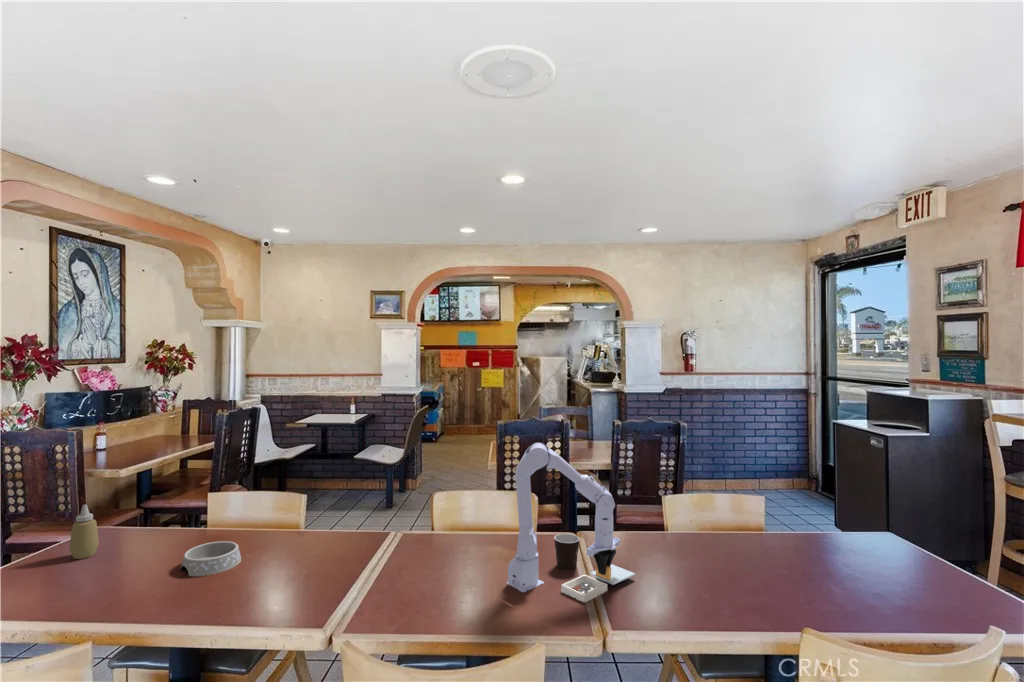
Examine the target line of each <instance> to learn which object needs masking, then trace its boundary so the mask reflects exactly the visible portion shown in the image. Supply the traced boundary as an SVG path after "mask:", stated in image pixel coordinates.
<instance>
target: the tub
mask: <svg viewBox="0 0 1024 682" xmlns="http://www.w3.org/2000/svg"><path fill="white" fill-rule="evenodd" d="M581 582H589V583H591V589H589V590H587V591H588V592H587V593H585V594H583V593H581V592H579V591H576V590H574V589H572V588H574V587H576V586H578V585H581ZM560 587H561V590H560V592H561V593H562V594H564V595H567V596H568V595H569V596H568V597H570V596H571V597H570V598H572V597H573V599H574V598H576V599H575V600H577V601H579V600H580V601H579V602H581V601H582V602H581V603H583V602H585V603H587V602H589V601H591V600H593V599H596V598H597V597H599V596H601V595H603V594H605V593H607V592H608V583H607V582H605V581H602V580H600V579H598V578H595V577H592V576H590V575H588V574H583V575H580V576H578V577H575V578H573V579H571V580H568V581H566V582H564V583H562V584H561V586H560ZM595 587H597V588H595ZM606 591H607V592H606ZM604 592H605V593H604ZM600 594H601V595H600ZM598 595H599V596H598Z"/></svg>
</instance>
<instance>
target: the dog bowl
mask: <svg viewBox="0 0 1024 682" xmlns="http://www.w3.org/2000/svg"><path fill="white" fill-rule="evenodd" d="M241 559H242V555H241V552H240V547H239V544H238V543H236V542H234V541H227V540H225V541H224V540H223V541H222V540H221V541H212V542H207V543H203V544H200V545H196V546H194V547H192V548H190V549H188V550H187V551H186V552H185V553H184V555H183V559H182V562H181V566H180V569H179V570H180V571H181V570H182V568H183V567H184V568H186V570H187V572H188V577H205V575H207V576H212V575H211V574H213V575H217V574H216V573H218V574H221V573H220V572H222V573H224V572H223V571H225V572H227V571H226V570H228V571H230V570H232V569H234V568H236V567H237V566H236V565H238V564H239V563H240V562H241V563H242V561H241ZM241 563H240V564H241ZM240 564H239V565H240ZM239 565H238V566H239ZM235 566H236V567H235ZM233 567H234V568H233ZM231 568H232V569H231ZM229 569H230V570H229Z"/></svg>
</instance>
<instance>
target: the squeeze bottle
mask: <svg viewBox="0 0 1024 682" xmlns="http://www.w3.org/2000/svg"><path fill="white" fill-rule="evenodd" d="M97 523H98V522H97V520H96V519H94V514H93V513H91V512H90V510H89V507H88V504H82V507H81V510H80V514H78V515H76V516H75V522H73V524H72V528H71V532H70V533H71V535H70V539H69V540H70V541H69V547H68V548H69V552H70V554H71V556H72V558H73V559H74V560H82V559H86V558H90V557H92V556H94V555H95V553H96V551H97V549H98V546H99V544H100V543H99V542H100V541H99V540H100V539H99V534H98V533H99V532H98V524H97Z"/></svg>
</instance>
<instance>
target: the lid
mask: <svg viewBox="0 0 1024 682" xmlns="http://www.w3.org/2000/svg"><path fill="white" fill-rule="evenodd" d="M590 575H591V576H593V577H594V579H597V580H599V581H601V582H604V583H606V584H610V585H612V586H614V585H616V584H618V583H620V582H623V581H625V580H627V579H629V578H632V577H635V576H636V573H635V572H633V571H630V570H627V569H625V568H623V567H619V566H618V565H615V564H612V563H611V566H610V567H608V566H606V573H605V575H602V574H600V573H599V571H598V567H597V563H596V562H595V570H593V571H591V572H589V576H590Z"/></svg>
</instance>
